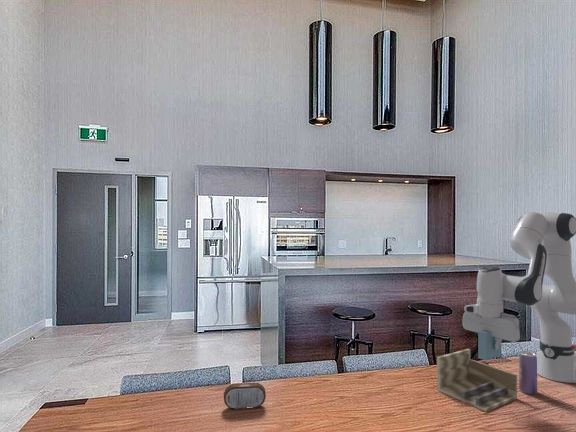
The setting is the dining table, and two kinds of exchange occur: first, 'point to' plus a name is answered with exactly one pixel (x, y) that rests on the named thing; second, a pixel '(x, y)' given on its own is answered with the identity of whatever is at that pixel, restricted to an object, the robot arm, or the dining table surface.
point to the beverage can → (528, 372)
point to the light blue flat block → (487, 346)
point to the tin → (244, 395)
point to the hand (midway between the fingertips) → (489, 347)
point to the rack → (475, 381)
